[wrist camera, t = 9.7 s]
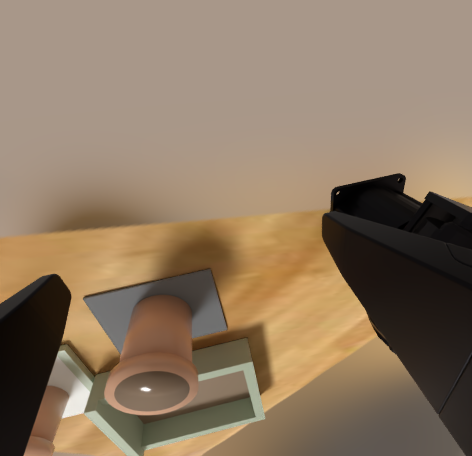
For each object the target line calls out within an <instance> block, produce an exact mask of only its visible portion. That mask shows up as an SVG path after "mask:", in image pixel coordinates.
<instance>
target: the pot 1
mask: <svg viewBox="0 0 472 456" xmlns="http://www.w3.org/2000/svg"><path fill="white" fill-rule="evenodd" d="M68 400H69V395H68V393H67V392H66V391H65V390H63V389H61V388H58V387H55V386H48V385H47V388H46V391H45V393H44V396H43V399H42V402H41V405H40V408H39V411H38V414H37V417H36V420H35V423H34V426H33V429H32V432H31V435H30V438H29V441H28V444H27V447H26V450H25V453H24V456H52V454H53V452H54V449H55V448H54V445H53V443H52V442H53V440H54V437H55V435H56V432H57V429H58V427H59V424H60V421H61V419H62V416H63V413H64V411H65V408H66V405H67V403H68Z"/></svg>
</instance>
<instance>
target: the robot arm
mask: <svg viewBox="0 0 472 456" xmlns="http://www.w3.org/2000/svg"><path fill="white" fill-rule="evenodd" d="M399 178H400V179H399ZM398 179H399V181H398ZM405 180H406V177H405V176H404V175H402V174H400V173H399V174H393V175H389V176H384V177H380V178H375V179H371V180H366V181H361V182H357V183H352V184H348V185H343V186H339V187H335V188H334V189H333V190H332V192H331V211H330V212H329V213H325V214H324V215H323V217H322V238H323V240H324V242H325V244H326V246H327V248H328V250H329V252H330V254H331V256H332V258H333V260H334V261H335V263H336V265H337V267H338V269H339V271H340V273H341V274H342V276H343V278H344V279H345V281H346V282H347V284H348V285H349V286H350V288H351V289H352V291H353V292H354V294H355V295H356V297H357V298H358V300H359V301H360V302H361V304H362V305H363V307H364V308H365V310H366V312H367V314H368V317H369V320H370V322H371V324H372V326H373V328H374V330H375V332H376V333H377V335H378V337H379V338H380V339H381V340H383V342H384V343H385V344H386V345H387V346H389V348H390V350H391V351H392V352H394V353H395V354H396V355H397V356H398V358H399V359H400V360H401V362H402V363H403V365H404V366H405V368H406V369H407V371H408V372H409V374H410V375H411V376H412V378H413V379H414V381H415V382H416V384H417V385H418V387H419V388H420V390H421V391H422V392H423V394H424V395H425V397H426V398H427V400H428V401H429V403H430V404H431V405H432V407H433V408H434V410H435V411H436V413H437V414H439V418H440V419H441V420H442V422H443V423H444V425H445V426H446V428H447V429H448V431H449V432H450V434H451V435H452V436H453V438H454V439H455V441H456V442H457V444H458V445H459V446H460V448H461V449H462V450H463V452H464V454H465V455H466V456H472V207H469V206H467V205H464V204H461V203H459V202H456V201H454V200H451V199H449V198H446V197H443V196H441V195H438V194H436V193H433V192H429V193H428V194H427V196H426V197H425V199H426V200H425V201H424V202H423V203H421V202H419V201H417V200H415V199H413V198H411V197H409V196H408V195H406V194H404V193H403V190H404V185H405ZM338 191H340V192H339V194H337V195H336V193H337V192H338ZM70 302H71V292H70V290H69V289H68V287H67V286H66V285H65V283H64V282H63V280H62V279H61V278H60V276H59V275H57V274H51V275H46V276H42V277H40V278H39V279H37V280H36V281H34V282H33V283H31V284H30V285H28V286H27V287H25V288H24V289H22V290H21V291H19V292H17V293H16V294H14V295H13V296H11V297H10V298H8V299H7V300H5V301H4V302H2V303H1V304H0V456H24V453H25V450H26V447H27V444H28V441H29V438H30V435H31V432H32V429H33V426H34V423H35V420H36V417H37V414H38V411H39V408H40V405H41V402H42V399H43V396H44V393H45V391H46V388H47V385H48V382H49V379H50V376H51V373H52V370H53V367H54V364H55V361H56V358H57V355H58V352H59V349H60V345H61V342H62V338H63V334H64V330H65V325H66V320H67V316H68V311H69V307H70Z"/></svg>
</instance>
